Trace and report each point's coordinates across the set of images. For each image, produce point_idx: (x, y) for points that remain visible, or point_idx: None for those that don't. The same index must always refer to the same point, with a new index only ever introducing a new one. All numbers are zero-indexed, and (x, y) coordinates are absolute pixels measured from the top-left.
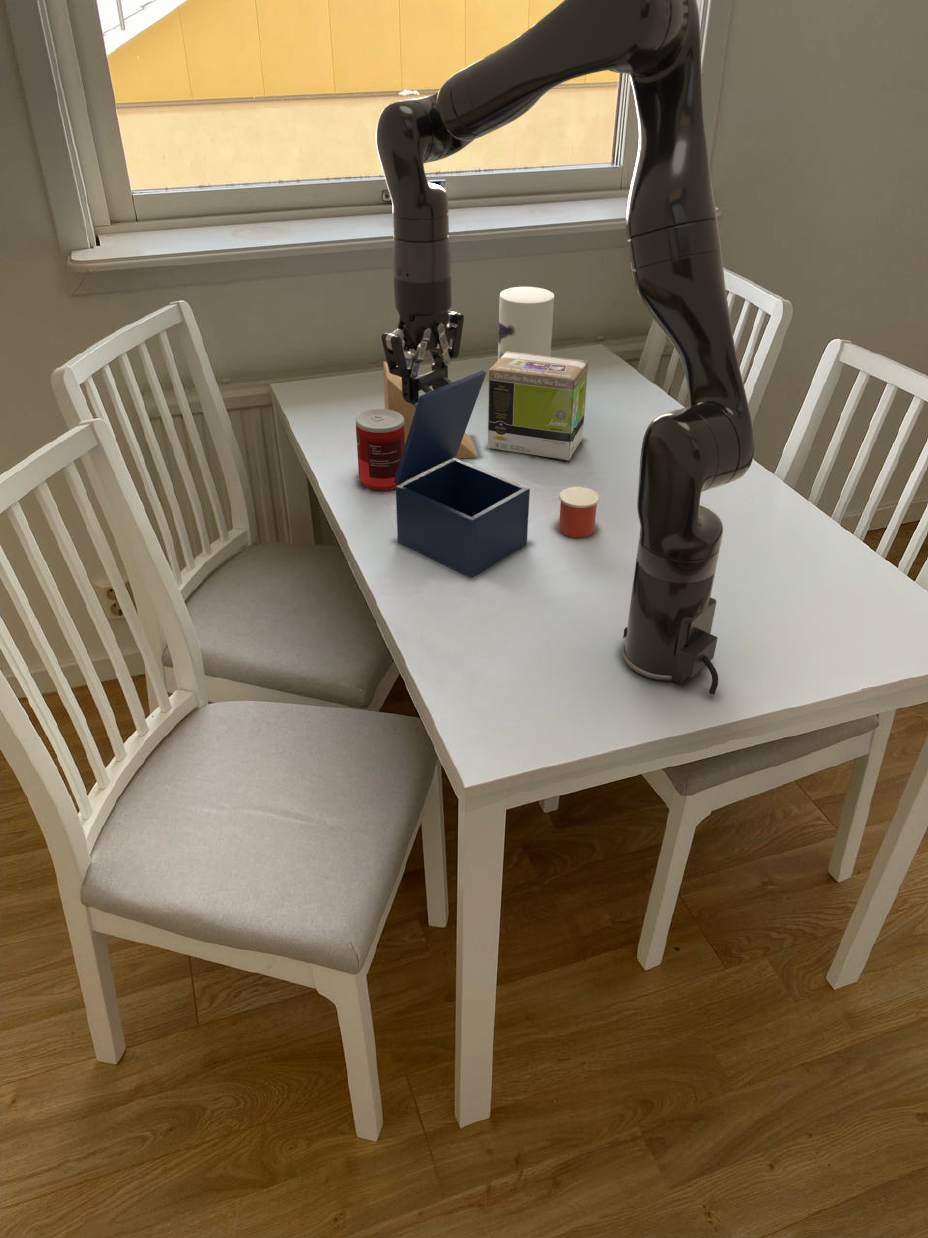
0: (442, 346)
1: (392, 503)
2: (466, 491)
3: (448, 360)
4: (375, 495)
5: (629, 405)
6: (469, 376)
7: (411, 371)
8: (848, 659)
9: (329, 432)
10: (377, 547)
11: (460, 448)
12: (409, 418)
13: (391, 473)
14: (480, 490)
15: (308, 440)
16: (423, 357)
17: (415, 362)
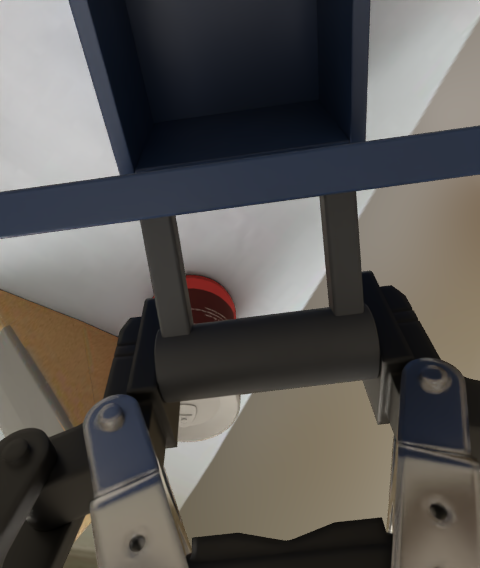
0: (169, 526)
1: (231, 237)
2: (134, 100)
3: (107, 419)
4: (237, 276)
5: None
6: (56, 218)
7: (465, 400)
8: None
9: (169, 453)
10: (372, 117)
11: (3, 307)
12: (87, 400)
13: (201, 294)
14: (116, 47)
15: (210, 449)
16: (406, 468)
17: (456, 450)
